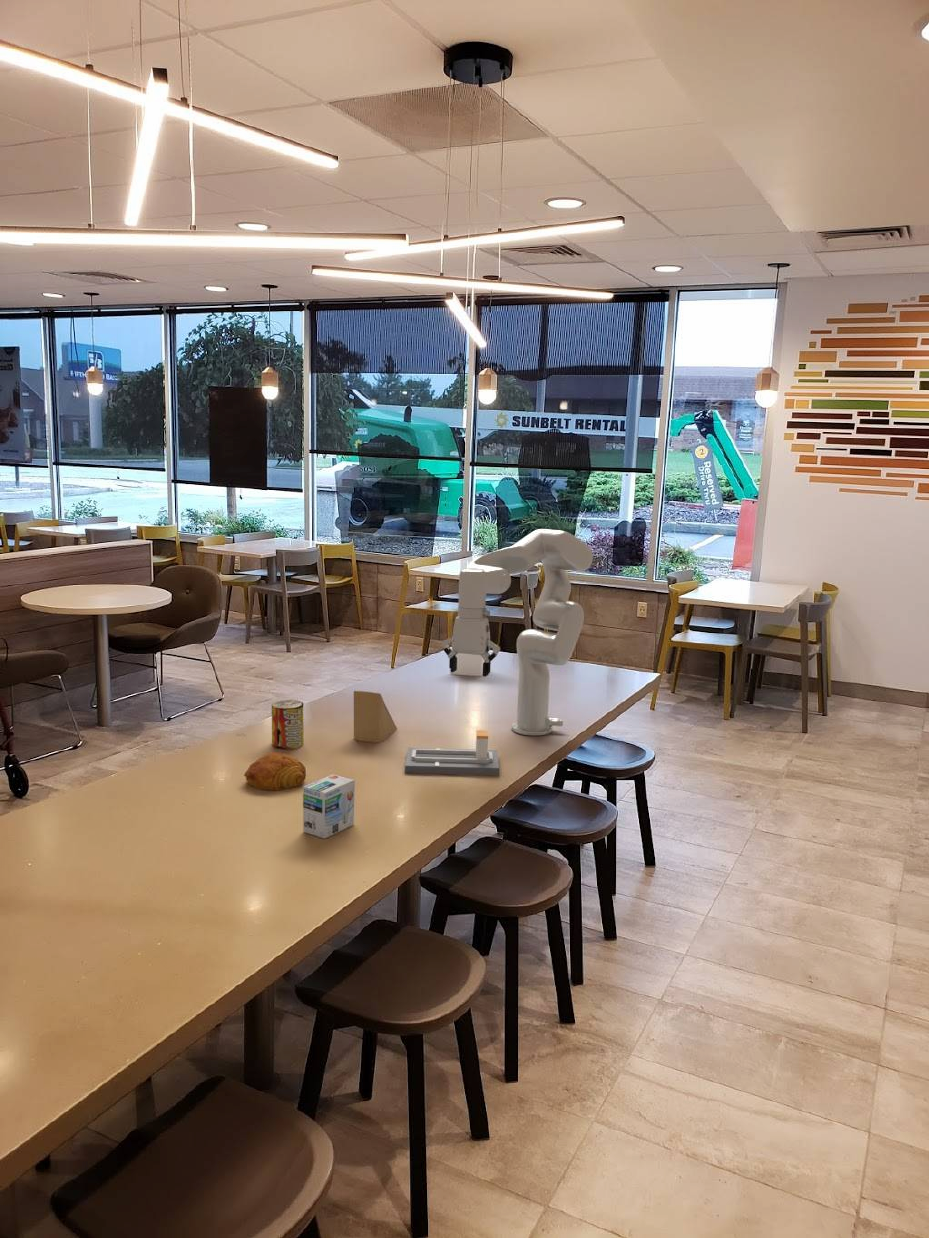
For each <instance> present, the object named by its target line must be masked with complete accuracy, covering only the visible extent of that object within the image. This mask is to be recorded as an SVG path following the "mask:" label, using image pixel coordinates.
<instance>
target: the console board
mask: <svg viewBox="0 0 929 1238" xmlns="http://www.w3.org/2000/svg"><path fill="white" fill-rule="evenodd" d="M404 764H405V765H404V773H405V774H430V775H431V774H437V775H440V774H441V775H477V776H500V775H499V774H500V766H499V757H498V750H496V749H488V753H487V759H476V749H467V748H466V749H463V748H462V749H461V748H440V747H435V748H433V747H432V748H430V747H429V748H428V747H426V748H424V747H407V753H406V758H405V763H404Z"/></svg>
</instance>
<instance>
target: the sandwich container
mask: <svg viewBox="0 0 929 1238" xmlns="http://www.w3.org/2000/svg"><path fill="white" fill-rule="evenodd" d="M397 729H398V726H397V725H396V724H395V722H394V720H393V718H392V716H391V714H390V711H389V709H388V708H387V705H386V704H385V702H384V698H383V697H382V693H380V692H372V691H365V690H364V691H360V690H354V691H353V740H357V741H365V742H371V743H372V742H373V743H380V742H382V741H383V740H385V739H386V738H388V737H389V736H390V735H391V734H393V732H395V731H396V730H397Z"/></svg>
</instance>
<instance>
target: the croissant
mask: <svg viewBox="0 0 929 1238" xmlns="http://www.w3.org/2000/svg"><path fill="white" fill-rule="evenodd" d="M306 776H307V771H306V766H305V765H304V764H303V763H302V762H301V761H300V760H299V759H297V758H295V757H293V756H292V755H290V754H285V753H281V752H277V751H273V752H269V753H267V754H264V755H262V756H261V757H259V758H258V759H257V760H255V761H254V762H252V763H251V764H250V765H249V767H248V768H247V770H246V771H245V773H244V774H243V777H245V780H246V782H247V784H249V785H251V786H252V787H255V788H256V789H261V790H268V791H269V790H270V791H275V792H276V791H280V790H283V789H290V788H294V787H297V786H301V785H302V784H304V782H305V780H306Z"/></svg>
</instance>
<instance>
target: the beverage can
mask: <svg viewBox="0 0 929 1238" xmlns="http://www.w3.org/2000/svg"><path fill="white" fill-rule="evenodd" d="M304 729H305V728H304V702H303V701H301V700H296V699H295V700H294V699H283V700H276V701H274V702H272V703H271V745H272V747H273V748H274V749H279V750H293V749H299V748H301V747H303V746H304V745H305V743H304Z"/></svg>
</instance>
